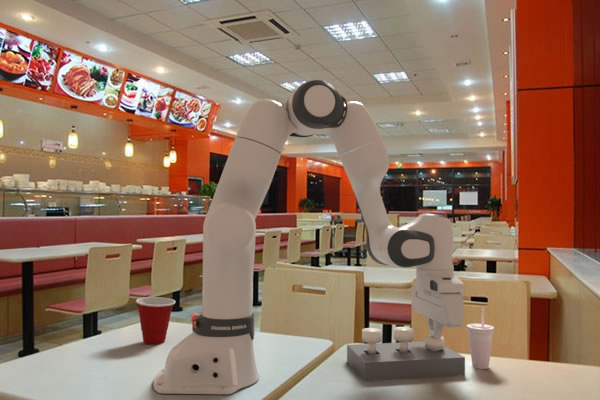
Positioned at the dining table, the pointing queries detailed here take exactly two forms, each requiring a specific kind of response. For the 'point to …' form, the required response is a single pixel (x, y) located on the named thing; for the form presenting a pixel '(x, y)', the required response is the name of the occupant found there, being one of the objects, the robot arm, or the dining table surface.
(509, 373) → the dining table surface
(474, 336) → the smoothie
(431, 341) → the knob
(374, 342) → the knob
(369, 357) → the console
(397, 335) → the knob middle
